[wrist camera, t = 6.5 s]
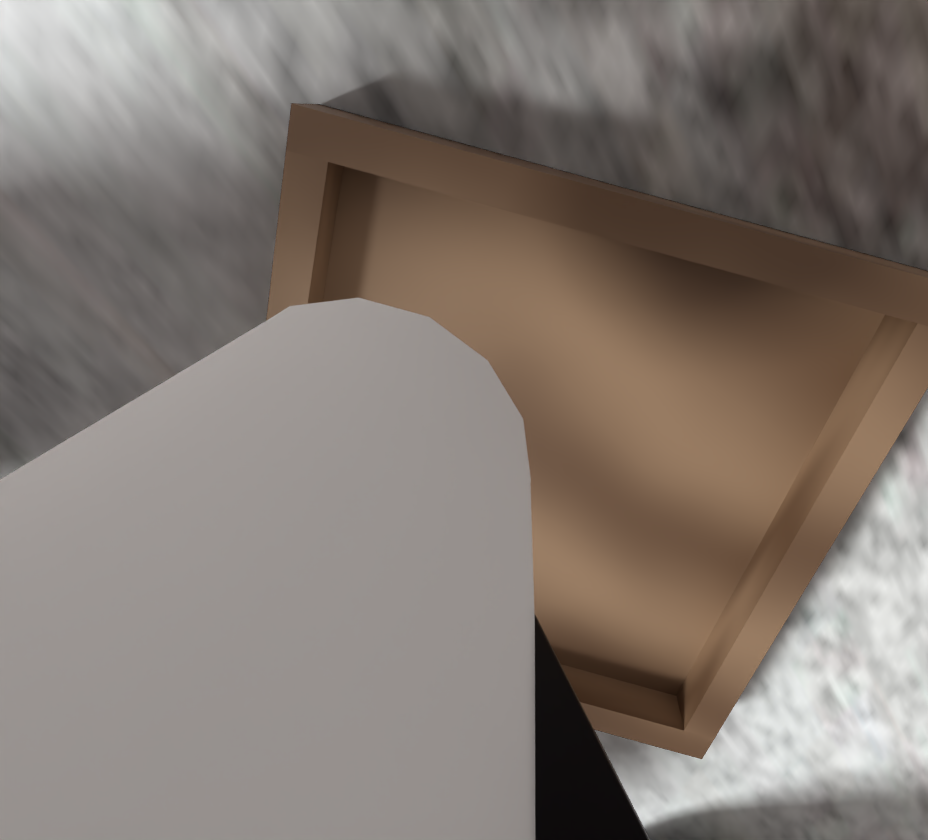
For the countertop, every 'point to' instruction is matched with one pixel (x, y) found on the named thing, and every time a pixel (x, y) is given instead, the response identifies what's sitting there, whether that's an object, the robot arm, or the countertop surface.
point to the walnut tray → (629, 391)
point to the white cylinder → (277, 599)
